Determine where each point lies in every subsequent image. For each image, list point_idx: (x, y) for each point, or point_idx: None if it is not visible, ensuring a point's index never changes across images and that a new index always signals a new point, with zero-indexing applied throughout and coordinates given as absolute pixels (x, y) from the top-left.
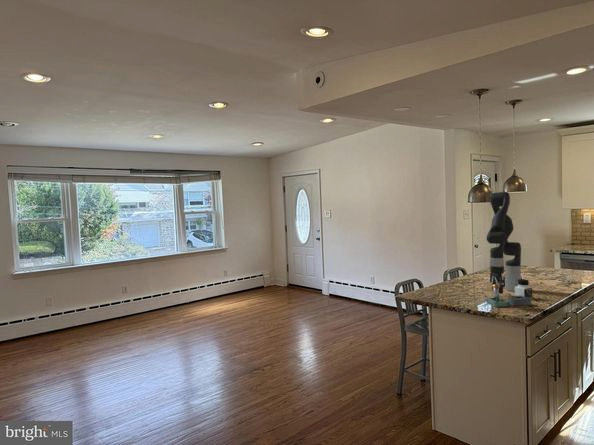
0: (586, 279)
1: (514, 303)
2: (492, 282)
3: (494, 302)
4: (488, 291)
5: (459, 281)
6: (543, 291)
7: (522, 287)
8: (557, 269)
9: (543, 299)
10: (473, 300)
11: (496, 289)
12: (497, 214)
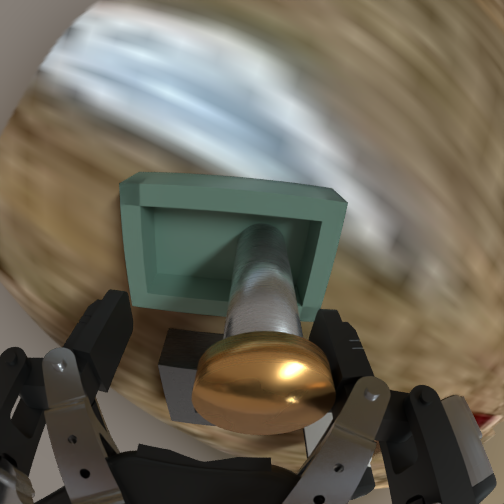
0: (384, 487)
1: (184, 340)
2: (351, 412)
3: (148, 182)
4: (494, 336)
5: None
6: None
7: None
8: None
9: (276, 446)
10: (431, 133)
11: (225, 336)
12: None
